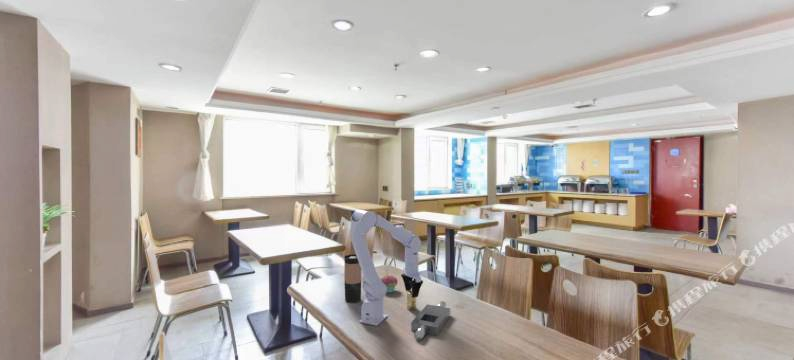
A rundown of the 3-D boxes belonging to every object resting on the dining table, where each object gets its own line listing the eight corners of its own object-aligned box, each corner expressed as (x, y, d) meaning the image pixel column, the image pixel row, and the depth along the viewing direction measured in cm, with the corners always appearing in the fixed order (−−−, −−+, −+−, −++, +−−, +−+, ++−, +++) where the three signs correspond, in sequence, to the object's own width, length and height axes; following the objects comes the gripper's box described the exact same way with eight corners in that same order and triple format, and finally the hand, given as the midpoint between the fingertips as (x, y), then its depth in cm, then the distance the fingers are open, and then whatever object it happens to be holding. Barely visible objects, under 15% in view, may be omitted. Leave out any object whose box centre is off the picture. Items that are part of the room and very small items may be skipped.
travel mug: (362, 297, 157) (362, 254, 156) (359, 303, 150) (359, 258, 149) (346, 296, 158) (346, 254, 157) (342, 302, 150) (342, 258, 150)
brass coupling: (414, 311, 141) (414, 294, 141) (405, 309, 143) (405, 293, 143) (417, 307, 145) (417, 291, 145) (409, 306, 147) (409, 290, 146)
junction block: (431, 343, 115) (431, 335, 115) (404, 337, 119) (404, 329, 119) (454, 310, 143) (454, 303, 142) (431, 306, 147) (431, 299, 147)
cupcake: (390, 295, 159) (390, 270, 159) (376, 291, 164) (376, 267, 164) (401, 290, 166) (400, 266, 166) (387, 286, 171) (387, 263, 171)
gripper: (427, 265, 138) (427, 298, 139) (413, 257, 152) (413, 286, 152) (411, 267, 135) (411, 301, 136) (398, 258, 149) (399, 288, 150)
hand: (411, 293), depth 144 cm, fingers open, 7 cm apart
